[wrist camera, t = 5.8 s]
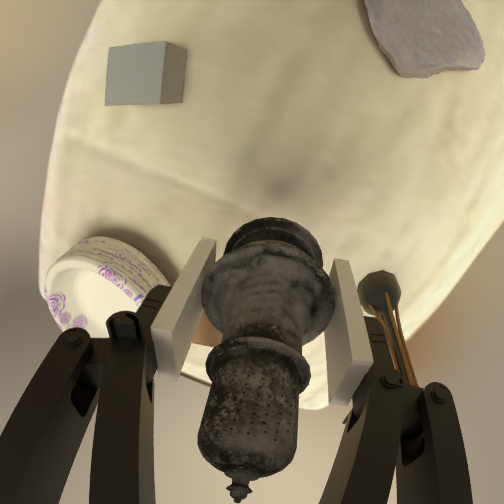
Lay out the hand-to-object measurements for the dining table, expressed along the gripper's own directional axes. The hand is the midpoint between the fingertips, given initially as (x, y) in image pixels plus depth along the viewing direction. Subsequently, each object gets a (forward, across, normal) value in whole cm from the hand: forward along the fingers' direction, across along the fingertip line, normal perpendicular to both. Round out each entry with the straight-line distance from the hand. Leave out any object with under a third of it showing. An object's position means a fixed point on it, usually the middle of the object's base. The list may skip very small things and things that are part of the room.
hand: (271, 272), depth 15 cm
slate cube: (+13, -12, +10) cm, 21 cm away
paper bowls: (+13, -16, -13) cm, 25 cm away
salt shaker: (+1, 0, 0) cm, 1 cm away
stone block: (+14, +9, +19) cm, 25 cm away
